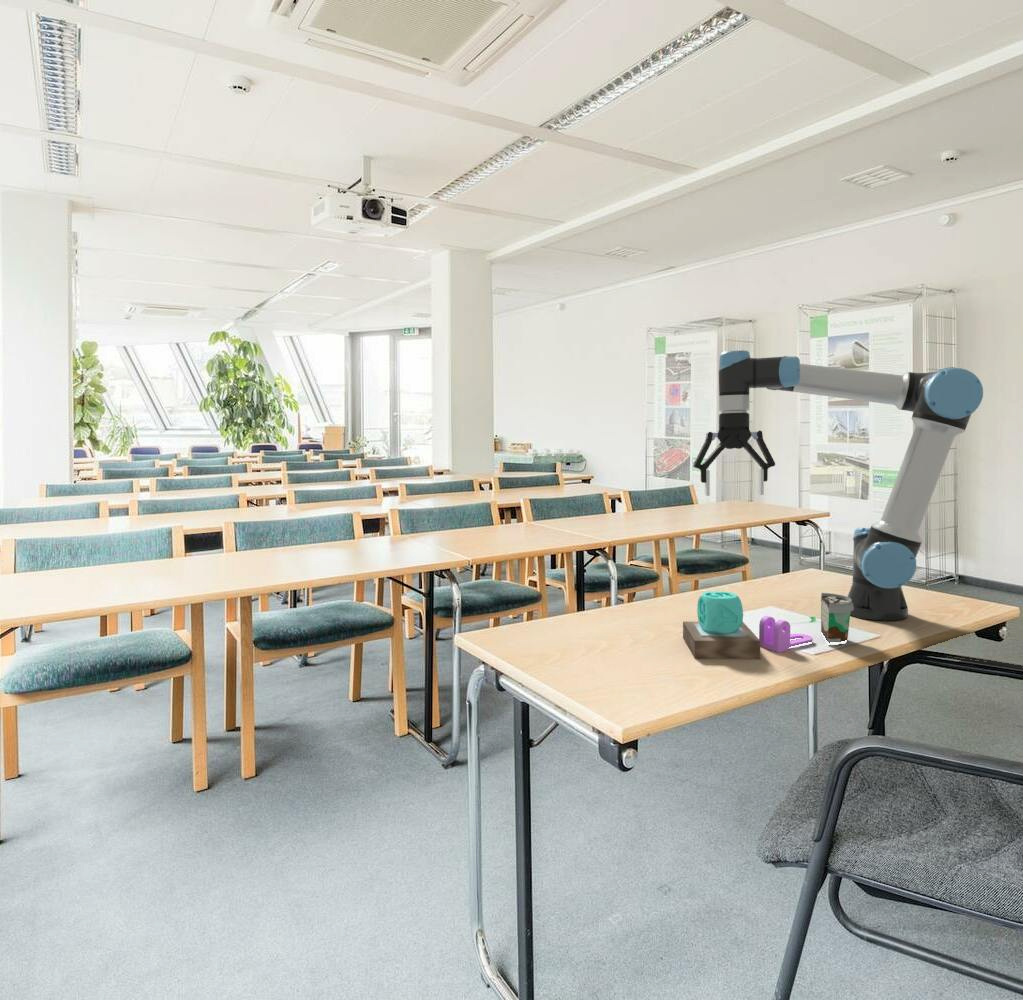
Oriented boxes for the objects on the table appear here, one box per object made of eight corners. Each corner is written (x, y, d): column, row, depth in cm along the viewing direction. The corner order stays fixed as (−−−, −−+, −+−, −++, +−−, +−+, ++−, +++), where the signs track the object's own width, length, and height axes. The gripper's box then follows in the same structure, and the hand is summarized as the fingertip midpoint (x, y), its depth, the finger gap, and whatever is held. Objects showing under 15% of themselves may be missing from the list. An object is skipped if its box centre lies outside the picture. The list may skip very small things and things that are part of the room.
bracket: (778, 652, 169) (778, 622, 168) (758, 646, 174) (759, 617, 173) (817, 643, 175) (818, 614, 174) (798, 638, 180) (798, 609, 179)
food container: (857, 649, 170) (859, 605, 169) (828, 647, 172) (829, 604, 171) (847, 634, 182) (848, 593, 181) (820, 632, 184) (821, 592, 183)
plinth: (742, 638, 180) (742, 620, 180) (760, 658, 164) (760, 639, 164) (682, 637, 181) (683, 620, 181) (694, 658, 165) (694, 639, 165)
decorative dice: (743, 633, 168) (743, 598, 168) (707, 634, 168) (708, 599, 167) (730, 624, 176) (730, 590, 176) (696, 625, 176) (697, 591, 175)
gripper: (779, 411, 197) (779, 492, 199) (682, 413, 198) (682, 494, 200) (788, 410, 189) (787, 495, 191) (687, 413, 191) (687, 497, 193)
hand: (733, 495), depth 196 cm, fingers open, 13 cm apart
